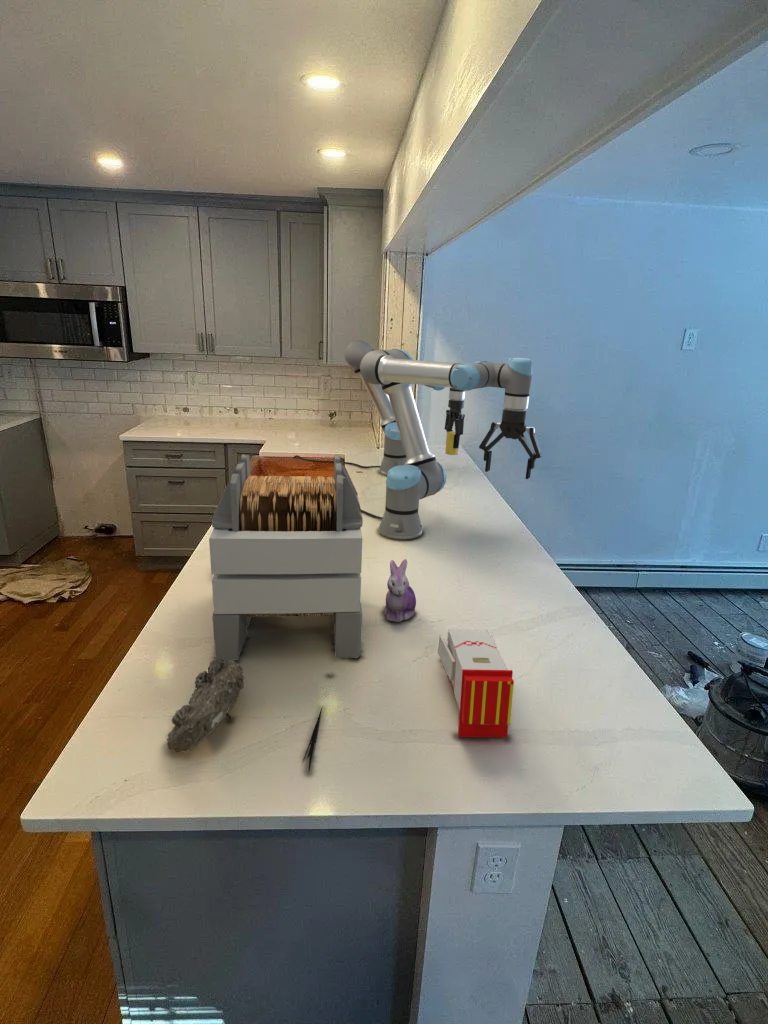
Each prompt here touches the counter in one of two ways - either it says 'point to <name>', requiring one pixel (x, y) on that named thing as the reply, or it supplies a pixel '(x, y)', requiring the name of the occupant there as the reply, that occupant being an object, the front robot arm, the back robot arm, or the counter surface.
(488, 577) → the counter surface
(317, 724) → the feather
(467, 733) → the toy
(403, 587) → the figurine
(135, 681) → the counter surface
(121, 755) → the counter surface
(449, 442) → the canister
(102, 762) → the counter surface
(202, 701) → the fossil
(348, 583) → the record crate
